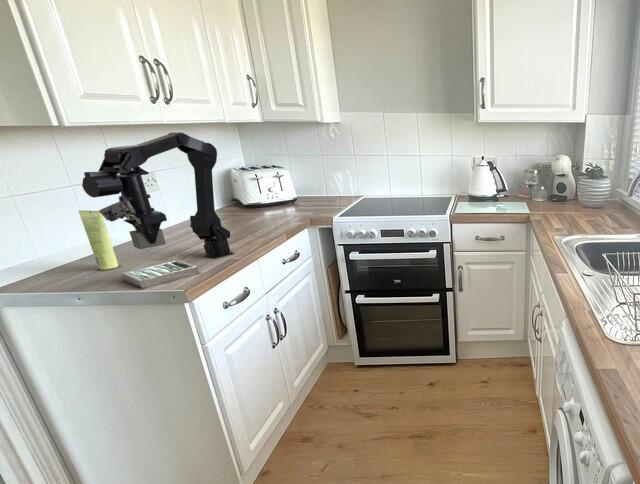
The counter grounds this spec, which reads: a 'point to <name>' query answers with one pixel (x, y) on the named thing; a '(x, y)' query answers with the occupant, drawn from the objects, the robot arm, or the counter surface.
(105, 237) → the tube
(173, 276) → the striped rimmed tray
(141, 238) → the dark grey block
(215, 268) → the counter surface
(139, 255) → the counter surface
